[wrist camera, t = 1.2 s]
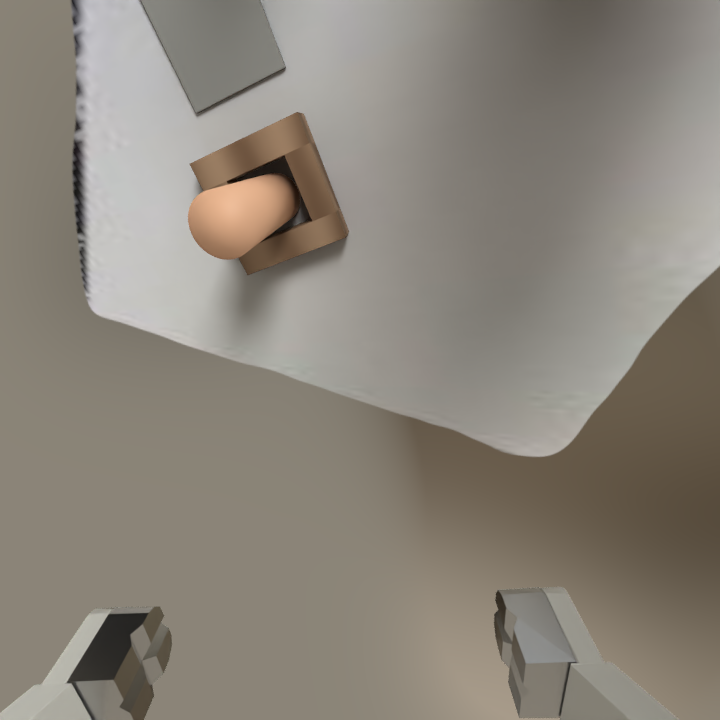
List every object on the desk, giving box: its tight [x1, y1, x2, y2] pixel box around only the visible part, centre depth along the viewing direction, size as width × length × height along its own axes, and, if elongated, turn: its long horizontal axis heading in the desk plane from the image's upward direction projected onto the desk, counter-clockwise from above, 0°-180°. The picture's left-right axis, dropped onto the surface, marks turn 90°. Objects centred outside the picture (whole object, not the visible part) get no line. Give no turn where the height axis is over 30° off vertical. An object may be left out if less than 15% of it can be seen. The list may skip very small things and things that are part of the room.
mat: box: [141, 0, 286, 113], centre depth 36 cm, size 10×10×1 cm
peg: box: [188, 173, 300, 259], centre depth 36 cm, size 5×5×16 cm
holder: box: [190, 112, 349, 275], centre depth 42 cm, size 12×12×3 cm
